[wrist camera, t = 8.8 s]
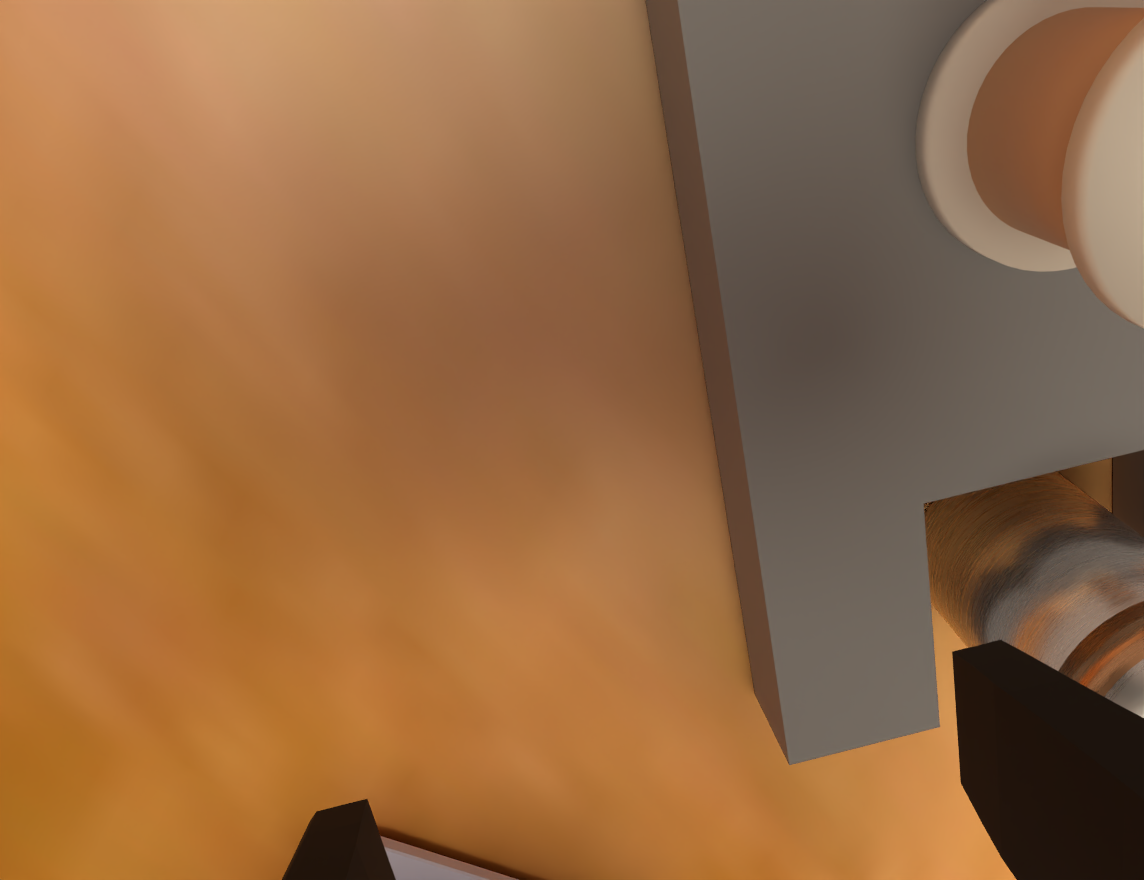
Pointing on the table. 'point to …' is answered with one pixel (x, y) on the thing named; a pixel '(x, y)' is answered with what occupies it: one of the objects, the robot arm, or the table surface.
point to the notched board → (899, 304)
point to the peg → (1044, 580)
